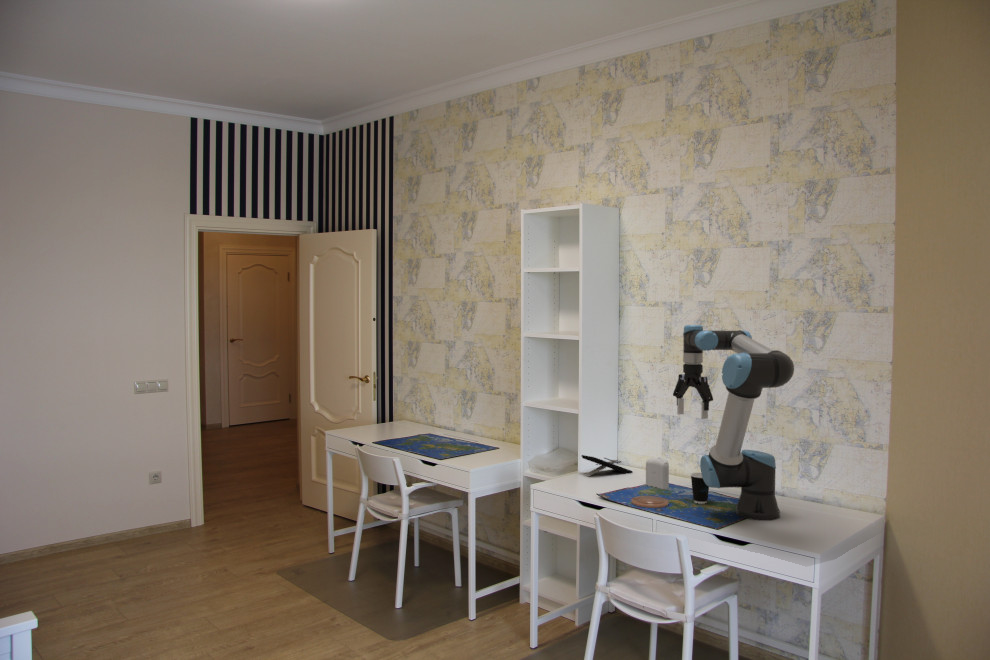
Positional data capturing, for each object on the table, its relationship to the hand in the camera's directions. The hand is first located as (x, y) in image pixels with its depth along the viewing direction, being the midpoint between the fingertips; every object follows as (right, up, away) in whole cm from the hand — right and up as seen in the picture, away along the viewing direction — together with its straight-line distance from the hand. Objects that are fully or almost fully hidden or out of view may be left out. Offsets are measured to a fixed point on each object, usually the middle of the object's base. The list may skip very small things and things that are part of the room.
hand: (692, 416), depth 292 cm
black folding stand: (-29, -31, +37) cm, 56 cm away
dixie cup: (0, -32, -11) cm, 34 cm away
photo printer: (-11, -32, +13) cm, 36 cm away
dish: (-19, -32, -12) cm, 39 cm away
